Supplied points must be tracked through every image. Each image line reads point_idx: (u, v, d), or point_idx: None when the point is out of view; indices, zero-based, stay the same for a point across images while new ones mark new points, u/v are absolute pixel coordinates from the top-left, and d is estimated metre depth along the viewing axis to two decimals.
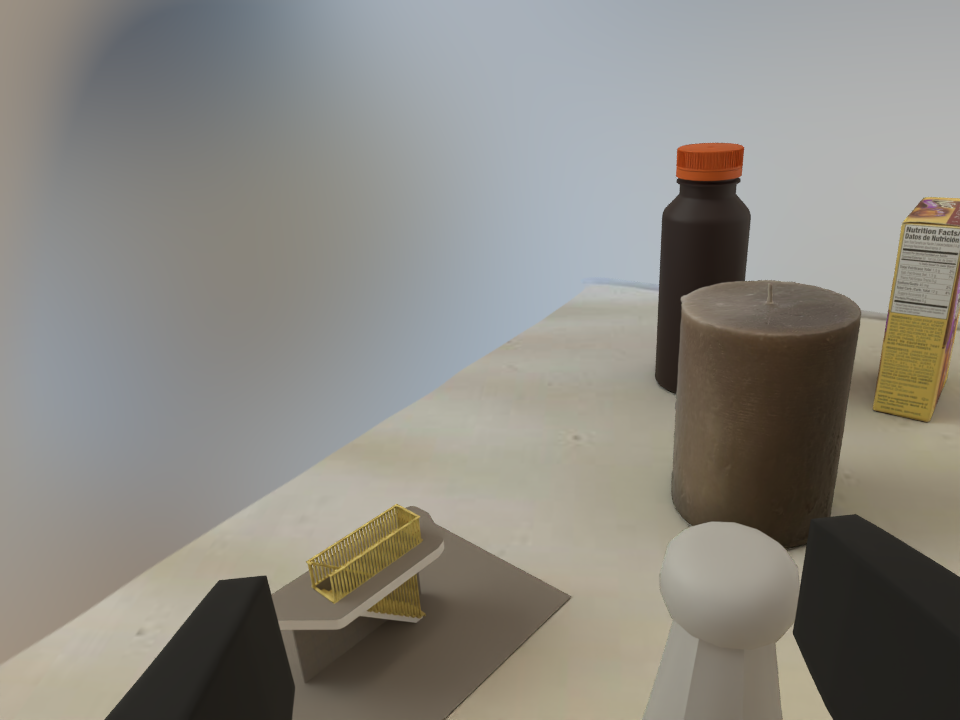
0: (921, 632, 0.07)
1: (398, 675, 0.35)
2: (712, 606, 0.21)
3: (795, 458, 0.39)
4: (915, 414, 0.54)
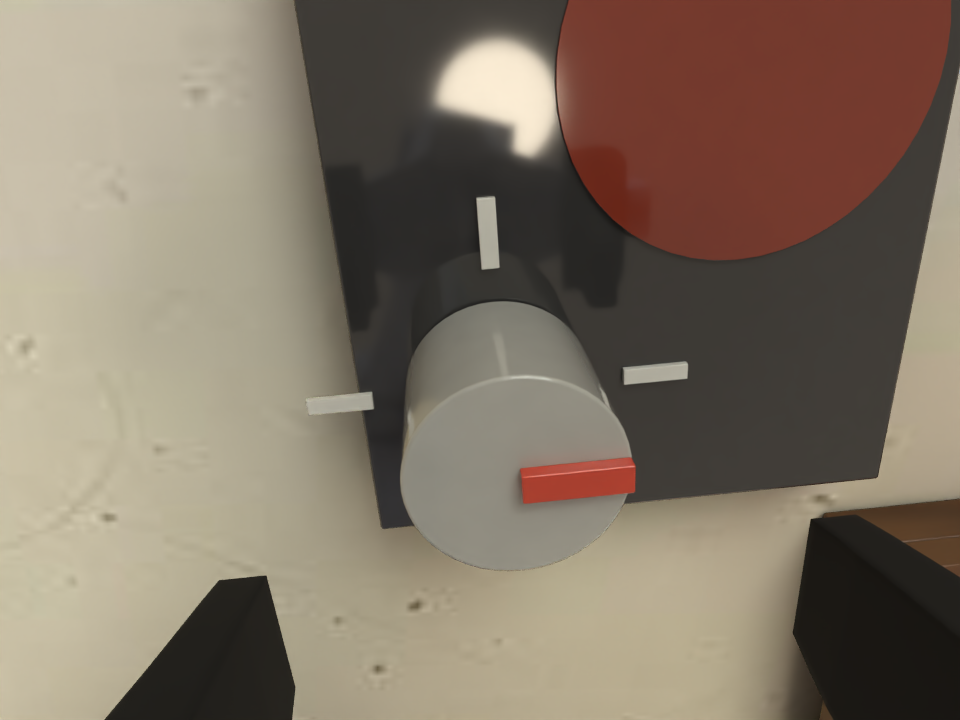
0: (921, 632, 0.07)
1: None
2: None
3: None
4: None
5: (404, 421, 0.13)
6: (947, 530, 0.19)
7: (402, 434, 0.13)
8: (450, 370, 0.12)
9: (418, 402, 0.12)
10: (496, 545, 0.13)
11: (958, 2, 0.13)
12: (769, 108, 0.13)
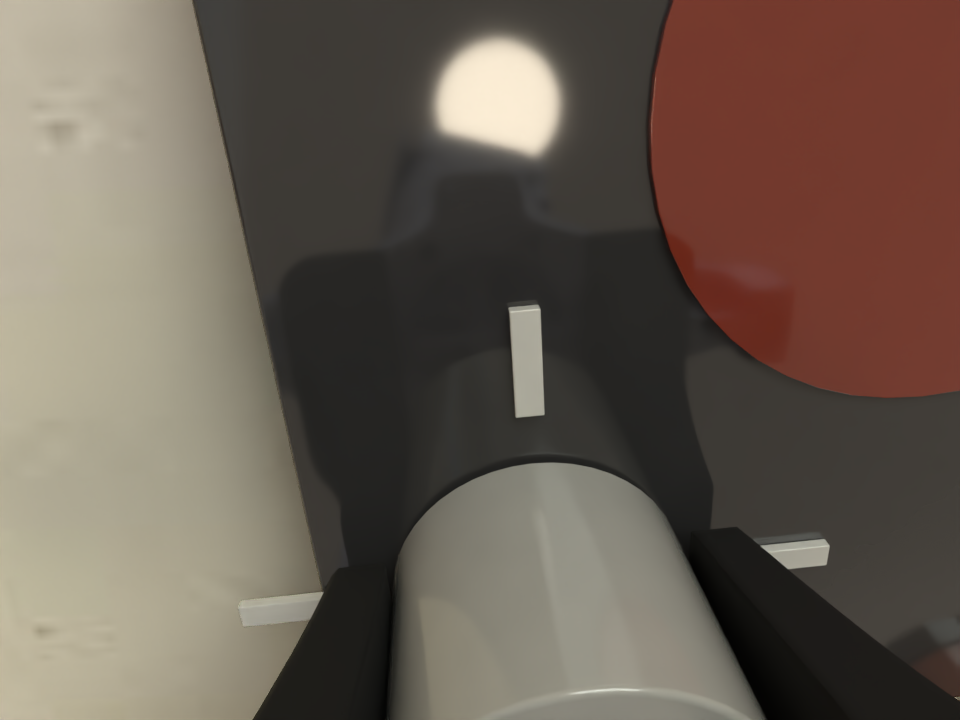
0: (770, 649, 0.07)
1: None
2: None
3: None
4: None
5: (388, 698, 0.08)
6: None
7: None
8: (469, 639, 0.07)
9: (411, 690, 0.07)
10: None
11: None
12: None
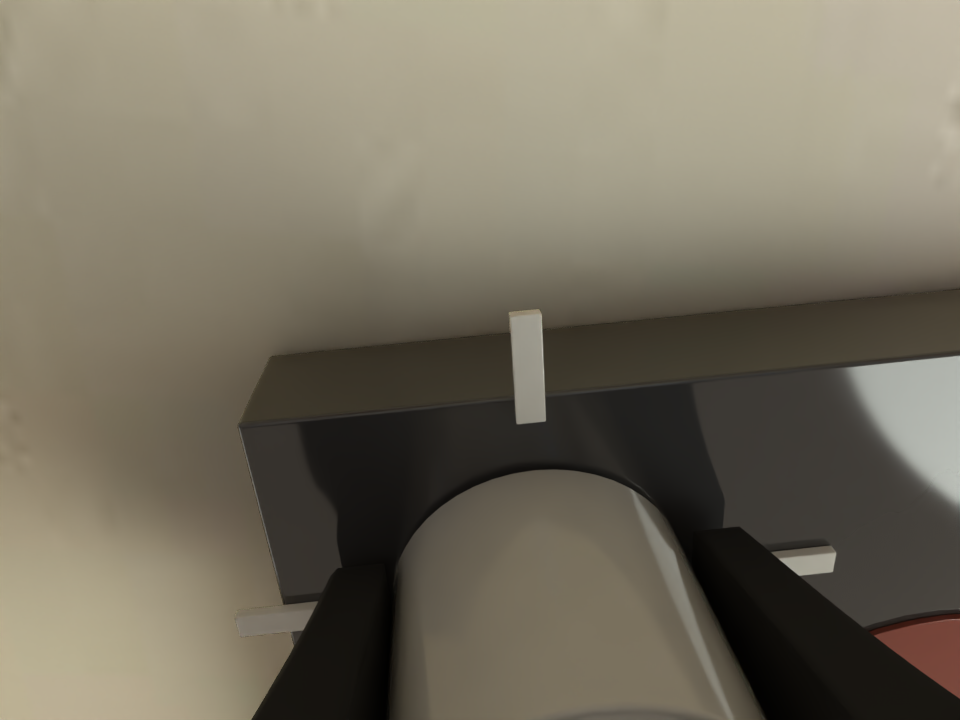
0: (773, 648, 0.07)
1: None
2: None
3: None
4: None
5: (387, 711, 0.07)
6: None
7: None
8: (471, 652, 0.07)
9: (411, 704, 0.07)
10: None
11: None
12: None
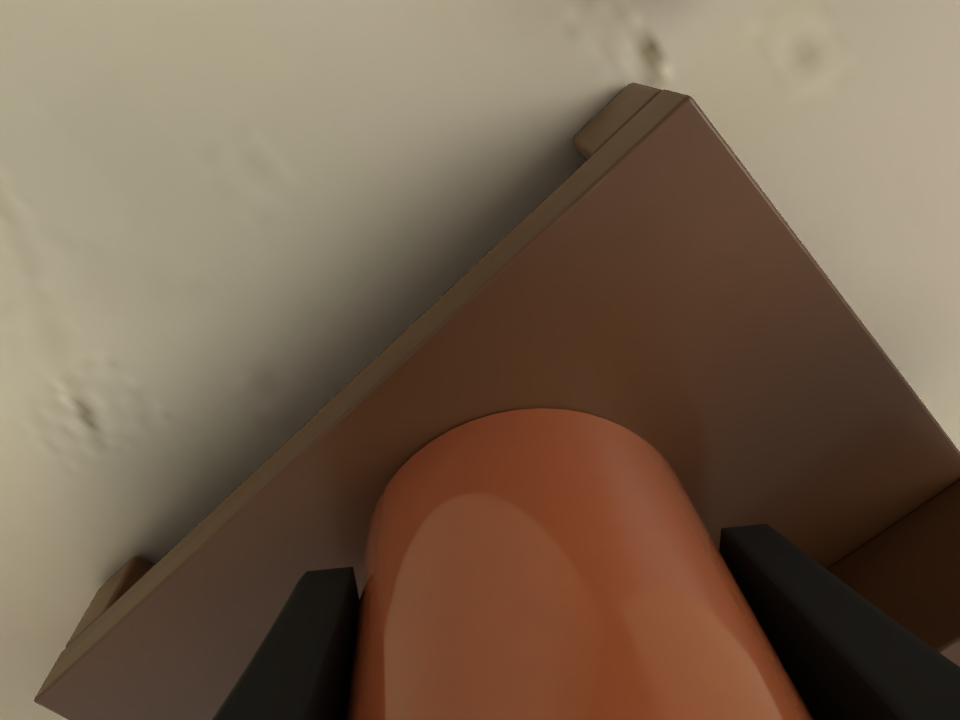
0: (808, 645, 0.07)
1: None
2: None
3: None
4: None
5: None
6: None
7: None
8: None
9: None
10: None
11: None
12: None
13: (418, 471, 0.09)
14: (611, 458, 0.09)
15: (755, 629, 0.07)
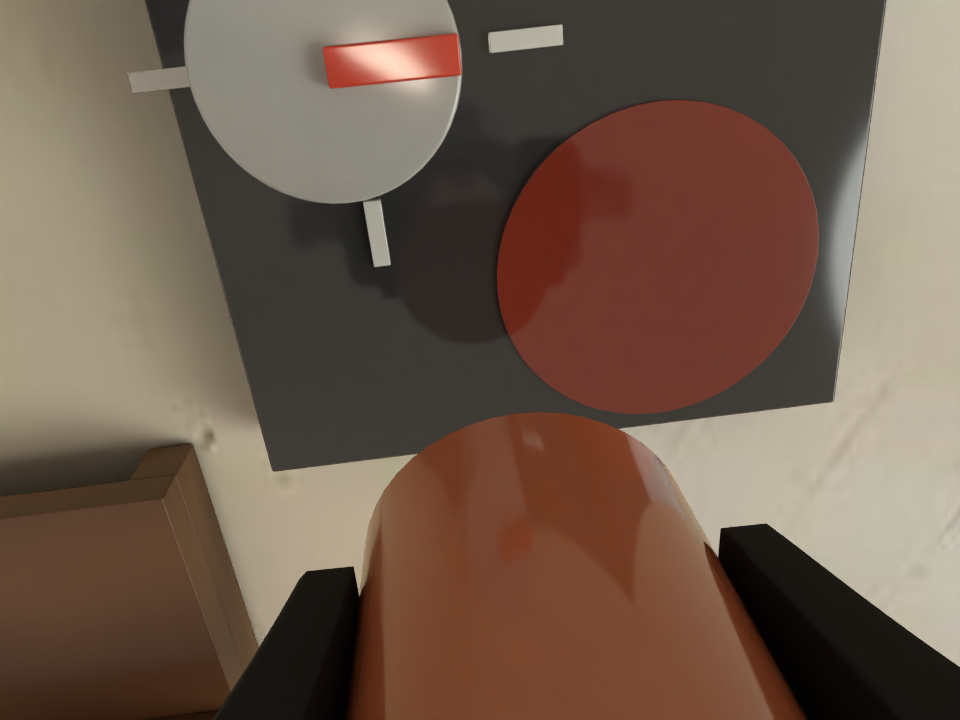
0: (808, 645, 0.07)
1: None
2: None
3: None
4: None
5: None
6: (207, 553, 0.19)
7: None
8: None
9: None
10: (311, 163, 0.11)
11: (689, 410, 0.17)
12: (626, 291, 0.16)
13: (417, 475, 0.09)
14: (608, 462, 0.09)
15: (752, 634, 0.07)
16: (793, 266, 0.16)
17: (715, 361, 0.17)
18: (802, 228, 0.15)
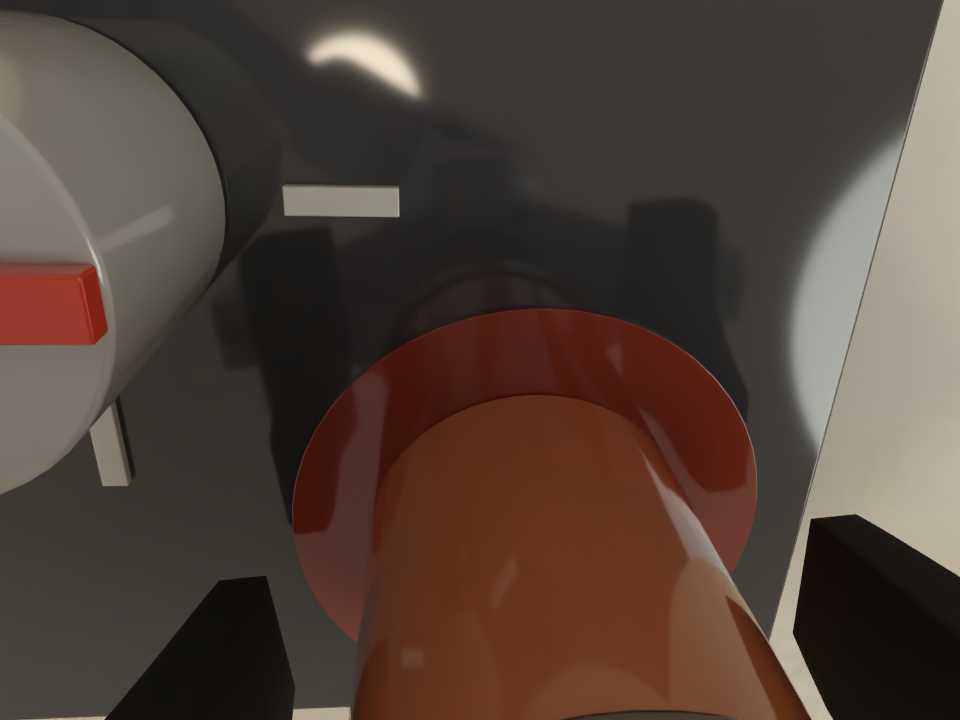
0: (921, 632, 0.07)
1: None
2: None
3: None
4: None
5: None
6: None
7: None
8: None
9: None
10: None
11: None
12: None
13: (420, 454, 0.10)
14: (603, 440, 0.09)
15: (736, 597, 0.07)
16: (716, 534, 0.11)
17: None
18: (734, 490, 0.11)
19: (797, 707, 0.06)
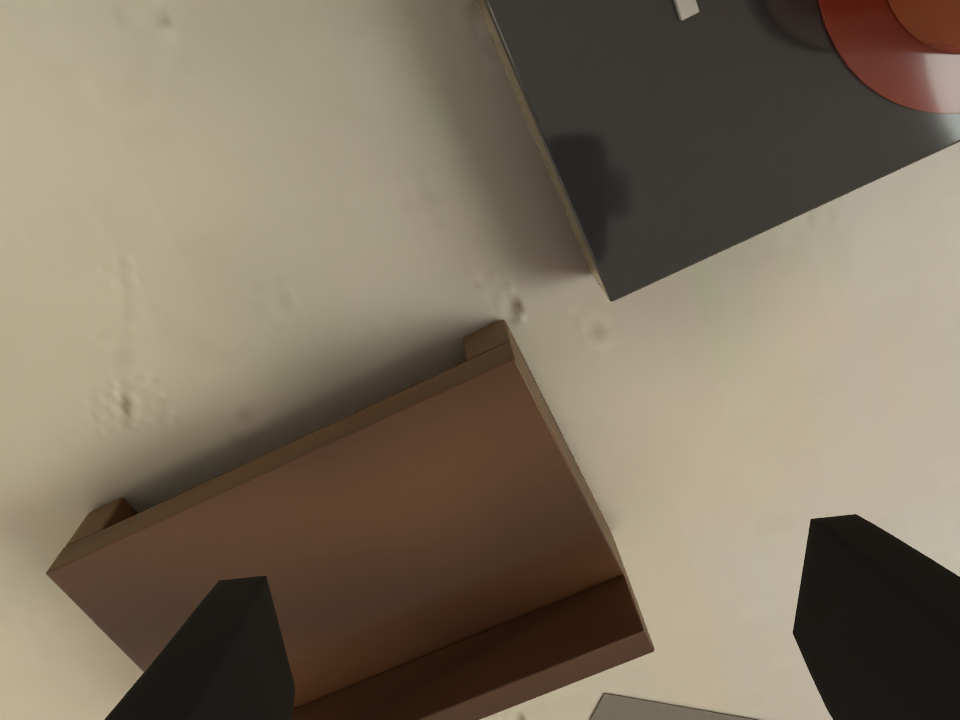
0: (921, 632, 0.07)
1: None
2: None
3: None
4: None
5: None
6: (552, 423, 0.18)
7: None
8: None
9: None
10: None
11: None
12: None
13: None
14: None
15: None
16: None
17: None
18: None
19: None
